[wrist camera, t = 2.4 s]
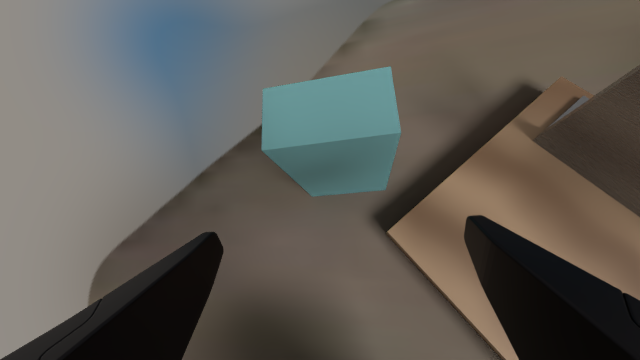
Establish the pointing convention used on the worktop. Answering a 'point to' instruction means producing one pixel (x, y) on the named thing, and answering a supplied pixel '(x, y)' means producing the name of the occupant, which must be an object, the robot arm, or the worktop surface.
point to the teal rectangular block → (333, 131)
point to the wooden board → (520, 216)
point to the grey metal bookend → (602, 139)
